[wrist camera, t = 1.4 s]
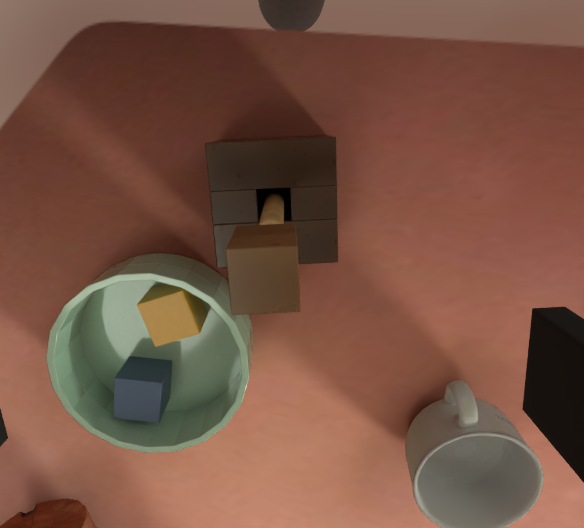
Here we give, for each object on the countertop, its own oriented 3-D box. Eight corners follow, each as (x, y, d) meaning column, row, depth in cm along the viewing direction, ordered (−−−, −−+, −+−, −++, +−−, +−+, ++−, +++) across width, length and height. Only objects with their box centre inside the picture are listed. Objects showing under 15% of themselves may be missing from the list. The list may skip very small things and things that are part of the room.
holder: (218, 139, 39) (204, 143, 32) (327, 134, 39) (335, 136, 32) (228, 245, 41) (216, 268, 35) (329, 240, 41) (338, 262, 35)
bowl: (63, 257, 42) (28, 278, 36) (246, 248, 42) (240, 268, 36) (94, 415, 46) (67, 456, 40) (258, 407, 46) (254, 447, 40)
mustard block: (149, 288, 42) (136, 304, 38) (192, 274, 41) (182, 290, 38) (166, 327, 43) (155, 347, 39) (207, 314, 42) (200, 333, 39)
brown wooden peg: (259, 177, 40) (225, 248, 17) (290, 175, 40) (297, 245, 17) (261, 207, 41) (231, 315, 18) (291, 206, 41) (300, 312, 18)
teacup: (496, 472, 49) (535, 536, 41) (391, 474, 49) (411, 539, 41) (511, 350, 45) (558, 397, 37) (398, 353, 45) (421, 400, 37)
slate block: (129, 355, 43) (114, 377, 40) (172, 360, 44) (161, 382, 40) (128, 393, 45) (113, 418, 41) (170, 397, 45) (159, 423, 41)
